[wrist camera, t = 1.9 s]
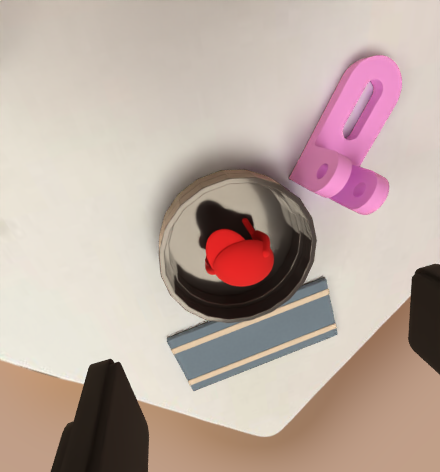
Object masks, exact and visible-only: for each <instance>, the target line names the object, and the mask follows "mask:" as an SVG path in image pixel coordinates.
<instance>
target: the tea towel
mask: <svg viewBox="0 0 440 472" xmlns="http://www.w3.org/2000/svg"><path fill="white" fill-rule="evenodd" d="M336 328H337V327H336V323H335V320H334V315H333V310H332V306H331V301H330V296H329V289H328V286H327V281H326V279H325V278H321V279H319V280H316V281H313V282H311V283H308V284H306V285H303V286H301V287H300V288H299V289H298V290H297V292H296V293H295V294H294V295H293V296H292V298H291V299H290V300H288V301H287V302H286V303H284V304H283V305H281V306H280V307H279V308H277V309H276V310H274V311H273V312H271V313H269V314H266V315H264V316H261V317H258V318H256V319H253V320H250V321H243V322H235V323H223V322H216V321H210V322H207V323H205V324H202V325H200V326H197V327H194V328H192V329H189V330H187V331H184V332H181V333H179V334H176V335H174V336H171V337H169V338H167V342H168V344H169V346H170V348H171V351H172V353H173V354H174V355H175V357H176V359H177V361H178V363H179V365H180V367H181V368H182V370H183V372H184V374H185V376H186V378H187V380H188V382H189V384H190V385H191V387H192V389H193V391H196V390H198V389H201V388H203V387H206V386H208V385H211V384H213V383H216V382H218V381H221V380H224V379H226V378H229V377H231V376H234V375H236V374H239V373H241V372H244V371H246V370H249V369H251V368H254V367H257V366H259V365H262V364H264V363H267V362H269V361H272V360H274V359H277V358H279V357H282V356H285V355H287V354H290V353H292V352H295V351H297V350H300V349H302V348H305V347H307V346H310V345H313V344H315V343H318V342H320V341H323V340H325V339H328V338H330V337H333V336H335V335H337V330H336Z"/></svg>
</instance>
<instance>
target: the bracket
mask: <svg viewBox="0 0 440 472" xmlns="http://www.w3.org/2000/svg"><path fill="white" fill-rule="evenodd" d="M368 82H371V83H372V85H373V94H372V96H371V98H370V100H369V102H368V103H367V105H366V107H365V109H364V111H363V112H362V114H361V116H360V118H359V120H358V121H357V123H356V125H355V127H354V129H353V130H352V132H351V134H350V135H349V136H348V137H347V138H344V136H343V127H344V125H345V123H346V121H347V120H348V118H349V116H350V114H351V112H352V110H353V109H354V107H355V105H356V103H357V101H358V100H359V98H360V96H361V94H362V92H363V90H364V89H365V87H366V85H367V84H368ZM401 88H402V77H401V73H400V70H399V68H398V66H397V64H396V63H395V62H394V61H393V60H392V59H390V58H389V57H386V56H382V55H376V56H371V57H367V58H363V59H360V60H358V61H356V62H355V63H353V64H352V65H351V66H350V67H349V68H348V69H347V70H346V71H345V73H344V74H343V76H342V78H341V80H340V82H339V83H338V85H337V87H336V89H335V91H334V93H333V95H332V97H331V99H330V101H329V103H328V105H327V106H326V108H325V110H324V112H323V114H322V116H321V118H320V120H319V122H318V124H317V126H316V128H315V129H314V131H313V133H312V135H311V137H310V139H309V141H308V143H307V145H306V147H305V149H304V150H303V152H302V154H301V156H300V158H299V160H298V162H297V164H296V166H295V168H294V170H293V172H292V173H291V175H290V177H289V179H290V180H292V181H294V182H296V183H297V184H299V185H301V186H303V187H305V188H307V189H308V190H310V191H312V192H314V193H316V194H319V195H321V196H323V197H325V198H330V199H331V200H333V201H335V202H337V203H339V204H341V205H343V206H345V207H347V208H348V209H351V210H353V211H355V212H357V213H359V214H362V215H368V214H371V213H373V212H374V211H376V210H377V209H378V208H379V207H380V206H381V205H382V204H383V203H384V201H385V200H386V198H387V195H388V192H389V183H388V180H387V179H386V178H385V177H383V176H381V175H379V174H377V173H375V172H373V171H371V170H368V169H365V168H361V167H360V165H361V163H362V161H363V160H364V158H365V156H366V155H367V153H368V151H369V149H370V148H371V146H372V144H373V143H374V141H375V139H376V137H377V136H378V134H379V132H380V131H381V129H382V127H383V126H384V124H385V122H386V120H387V119H388V117H389V115H390V114H391V112H392V110H393V108H394V107H395V105H396V103H397V101H398V99H399V96H400V93H401Z"/></svg>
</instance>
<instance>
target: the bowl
mask: <svg viewBox="0 0 440 472" xmlns="http://www.w3.org/2000/svg"><path fill="white" fill-rule="evenodd" d="M243 218H247V219H248V220H249V222H250V224H251V225H252V227H253V228H254V230H255V231H256V230H259V231H261V232H263V233H265V234H267V235H268V237H269V239H270V248H271V250H272V252H273V255H274V263H273V267H272V269H271V271H270V273H269V274H268V275H267V276H266V277H265V278H264V279H263V280H261V281H260V282H258V283H256V284H253V285H250V286H233V285H229V284H227V283H225V282H223V281H222V280H220V279H219V278H218V277H217V276H216V275H210V274H208V273H207V271H206V269H205V259H206V243H207V240H208V238H209V236H210V235H211V234H212V233H213V232H215V231H217V230H219V229H229V230H232V231H235V232H236V233H238V234H239V235H241V236H242V237H243V238H244V239H245V240H253V239H252V237H251V235H250V233H249V232H248V230H247V229H246V227H245V226H244V224H243V222H242V219H243ZM316 241H317V240H316V234H315V230H314V225H313V220H312V217H311V215H310V214H309V212H308V211H307V209H306V208H305V206H304V204H303V203H302V201H301V200H300V198H298V197H297V196H296V195H294V194H293V193H292V192H290V191H289V190H288V189H286V188H285V187H284V186H282V185H281V184H279V183H278V182H276V181H275V180H273V179H271V178H270V177H268V176H266V175H263V174H259V173H256V172H253V171H249V170H245V169H238V170H220V171H217V172H215V173H212V174H209V175H207V176H204V177H201V178H199V179H197V180H196V181H194V182H193V183H192V184H190V185H189V186H188V187H187V188H185V189H184V190H183V191H182V192H180V193H179V194H178V195H177V197H176V198H175V200H174V201H173V203H172V204H171V206H170V207H169V209H168V210H167V212H166V213H165V215H164V219H163V223H162V227H161V231H160V234H159V261H160V272H161V277H162V279H163V281H164V283H165V285H166V287H167V289H168V291H169V293H170V295H171V296H172V297H173V298H174V299H175V300H176V301H177V302H178V303H179V304H180V305H181V306H182V307H183V308H184V309H185V310H187V311H188V312H190V313H192V314H195V315H197V316H199V317H201V318H203V319H205V320H210V321H216V322H223V323H235V322H243V321H250V320H253V319H256V318H258V317H261V316H264V315H266V314H269V313H271V312H273V311H274V310H276V309H277V308H279V307H280V306H281V305H283V304H284V303H286V302H287V301H288V300H290V299H291V298H292V296H293V295H294V294H295V293H296V292H297V290H298V289H299V288H300V287H301V286H302V284H303V283H304V282H305V280H306V278H307V276H308V273H309V271H310V269H311V267H312V265H313V262H314V256H315V249H316Z"/></svg>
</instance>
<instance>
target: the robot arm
mask: <svg viewBox="0 0 440 472" xmlns="http://www.w3.org/2000/svg"><path fill="white" fill-rule="evenodd" d="M408 340H409V344H410V346H411V348H412V349H413V350H414V351H415V352H416V353H417V354H418V355H419V356H420V357H421V358H422V359H423V360H424V361H426V362H427V363H428V364H429V365H430V366H431V367H432V368H433V369H434V370H435V371H437V372H438V373H439V374H440V265H439V264H433V265H429V266H426V267H423V268H419V269H417V270H416V272H415V275H413V277H412V285H411V303H410V321H409V337H408ZM148 446H149V432H148V425H147V422H146V420H145V417H144V415H143V413H142V411H141V408H140V406H139V404H138V402H137V399H136V397H135V395H134V393H133V390H132V388H131V386H130V383H129V381H128V379H127V377H126V374H125V372H124V370H123V368H122V365H121V363H120V362H116V363H114V361H113V360H112V359H108V360H105V361H101V362H98V363H94V364H91V365H90V366H89V368H88V372H87V375H86V379H85V383H84V386H83V390H82V394H81V397H80V401H79V404H78V408H77V411H76V415H75V419H74V422H71V423H68V424H67V426H66V427H65V428H64V431H63V433H62V437H61V440H60V443H59V446H58V449H57V453H56V456H55V459H54V463H53V466H52V469H51V472H148V448H149V447H148Z"/></svg>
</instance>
